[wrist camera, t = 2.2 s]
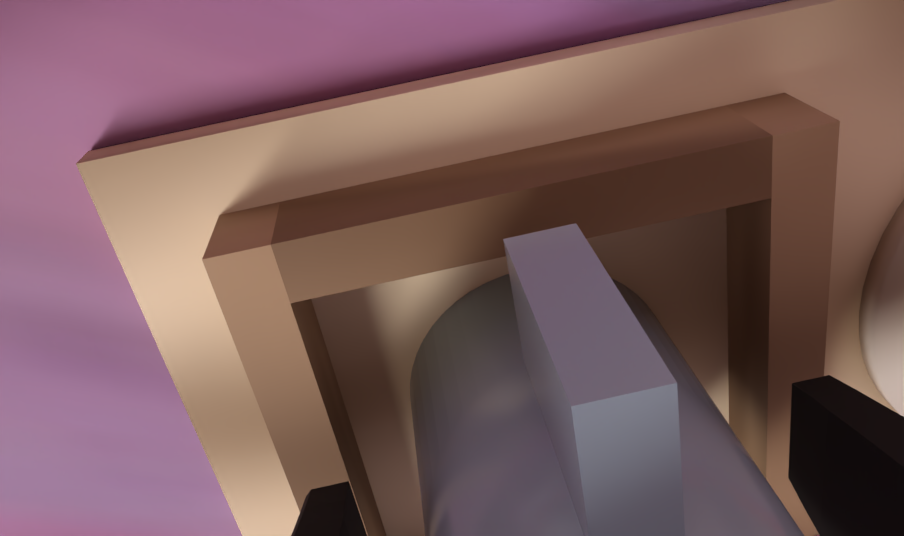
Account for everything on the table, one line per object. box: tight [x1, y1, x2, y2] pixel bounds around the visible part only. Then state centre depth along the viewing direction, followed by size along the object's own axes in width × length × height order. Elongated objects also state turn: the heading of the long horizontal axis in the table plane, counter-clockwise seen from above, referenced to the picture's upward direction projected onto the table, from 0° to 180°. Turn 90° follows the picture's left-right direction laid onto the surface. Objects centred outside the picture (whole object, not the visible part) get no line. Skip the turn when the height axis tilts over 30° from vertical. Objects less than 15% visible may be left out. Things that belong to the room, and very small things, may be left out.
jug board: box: [76, 0, 904, 536], centre depth 14 cm, size 12×22×2 cm, turn 101°
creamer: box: [410, 223, 804, 536], centre depth 11 cm, size 7×5×8 cm
